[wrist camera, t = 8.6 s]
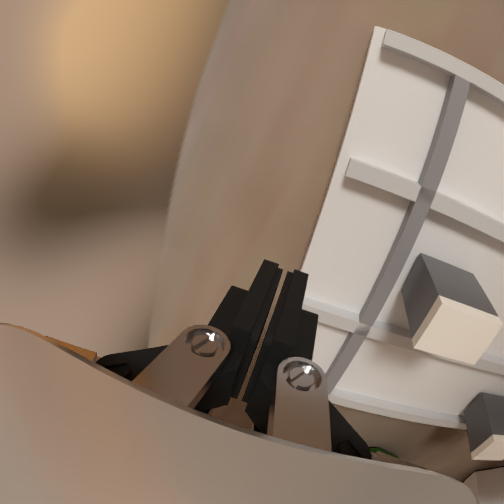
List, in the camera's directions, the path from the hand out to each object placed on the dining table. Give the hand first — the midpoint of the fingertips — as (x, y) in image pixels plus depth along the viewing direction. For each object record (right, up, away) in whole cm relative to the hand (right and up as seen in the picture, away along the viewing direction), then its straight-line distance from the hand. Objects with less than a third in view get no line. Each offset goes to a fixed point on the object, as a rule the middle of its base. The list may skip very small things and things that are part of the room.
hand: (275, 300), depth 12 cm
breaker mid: (+9, 0, +3) cm, 10 cm away
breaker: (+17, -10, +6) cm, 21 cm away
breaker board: (+15, -1, +4) cm, 15 cm away
